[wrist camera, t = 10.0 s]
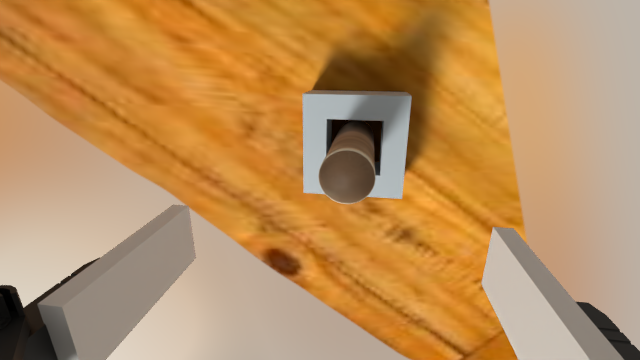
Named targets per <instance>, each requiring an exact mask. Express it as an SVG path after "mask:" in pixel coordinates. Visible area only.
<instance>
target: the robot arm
mask: <svg viewBox="0 0 640 360" xmlns="http://www.w3.org/2000/svg"><path fill="white" fill-rule="evenodd" d="M195 258H196V255H195V249H194V242H193V234H192V228H191V221H190V213H189V206H182V205H172V206H171V207H169V208H168V209H167V210H165V211H164V212H162V213H161V214H160V215H158V216H157V217H156V218H154V219H153V220H152V221H150V222H149V223H147V224H146V225H145V226H143V227H142V228H141V229H139V230H138V231H136V232H135V233H134V234H132V235H131V236H130V237H128V238H127V239H126V240H124V241H123V242H121V243H120V244H119V245H117V246H116V247H115V248H113V249H112V250H110V251H109V252H108V253H107V254H105V255H104V256H102V257H101V258H98V259H96V260H93V261H91V262H89V263H87V264H85V265H83V266H82V267H80V268H79V269H77V270H76V271H75V272H73V273H72V274H71V276H68V277H66V278H65V279H63V280H62V281H61V283H60V284H59V283H58V284H56V285H55V286H54V287H52V288H51V289H49V290H48V291H47V292H45V293H44V294H42V295H41V296H40V297H38V298H37V299H35V300H34V301H33V302H31V303H30V304H28V305H27V306H26V307H24V308H23V306H22V303H21V300H20V298H19V295H18V292H17V289H16V288H15V287H13V286H10V285H1V286H0V360H106V359H107V358H108V357H109V355H110V354H111V353H112V352H113V351H114V350H115V349H116V347H117V346H118V345H119V344H120V343H121V342H122V341H123V340H124V338H125V337H126V336H127V335H128V334H129V333H130V332H131V331H132V329H133V328H134V327H135V326H136V325H137V324H138V323H139V322H140V320H141V319H142V318H143V317H144V316H145V314H147V313H148V311H149V310H150V309H151V308H152V307H153V306H154V305H155V303H156V302H157V301H158V300H159V299H160V298H161V297H162V296H163V294H164V293H165V292H166V291H167V290H168V289H169V288H170V286H171V285H172V284H173V283H174V282H175V281H176V280H177V279H178V277H179V276H180V275H181V274H182V273H183V272H184V271H185V270H186V268H187V267H188V266H189V265H190V264H191V263H192V262H193V261H194V259H195ZM482 286H483V288H484V290H485V292H486V294H487V296H488V298H489V300H490V302H491V304H492V306H493V309H494V311H495V313H496V315H497V317H498V319H499V321H500V323H501V325H502V327H503V329H504V331H505V333H506V335H507V337H508V339H509V341H510V343H511V345H512V347H513V349H514V351H515V353H516V355H517V357H518V359H519V360H640V351H639V350H638V349H637V348H636V347H635V346H634V345H631V343H630V341H629V339H628V338H627V337H626V336H625V335H624V334H623V333H621V332H620V330H619V329H618V327H617V326H616V325H615V324H614V323H613V322H612V321H611V320H610V319H609V318H608V317H607V316H606V315H605V314H604V313H602V312H601V311H599V310H598V309H596V308H595V307H593V306H592V305H591V304H589V303H584V302H575V301H574V300H573V299H572V297H571V296H570V295H569V294H568V293H567V291H566V290H565V289H564V288H563V287H562V285H561V284H560V283H559V282H558V281H557V279H556V278H555V277H554V276H553V275H552V274H551V272H550V271H549V270H548V269H547V268H546V267H545V265H544V264H543V263H542V262H541V261H540V259H539V258H538V257H537V256H536V255H535V253H534V252H533V251H532V250H531V249H530V247H529V246H528V245H527V244H526V243H525V242H524V240H523V239H522V238H521V237H520V236H519V234H518V233H517V232H516V231H515V230H514V229H513V228H499V227H493V231H492V235H491V240H490V245H489V250H488V255H487V260H486V264H485V269H484V274H483V279H482Z"/></svg>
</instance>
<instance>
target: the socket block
mask: <svg viewBox="0 0 640 360" xmlns="http://www.w3.org/2000/svg"><path fill="white" fill-rule="evenodd" d="M411 99H412V96H411V95H410V94H409V93H407V92H390V91H337V90H311V91H308V92H306V93H304V94H303V173H304V193H316V194H325V193H324V192H323V190H322V188H321V186H320V184H319V178H318V175H319V169H320V166H321V164H322V162H323V160H324V158H325V157H326V156H327V154H328V152H329V150H330V148H331V146H332V119H339V120H371V121H382V127H381V141H380V156H379V162H374V164H375V176H376V179H375V185H374V187H373V190H372V191H371V193H370V194H369V195H368V196H367V197H381V198H397V199H402V192H403V182H404V172H405V161H406V151H407V141H408V130H409V120H410V109H411Z"/></svg>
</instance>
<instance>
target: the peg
mask: <svg viewBox="0 0 640 360" xmlns="http://www.w3.org/2000/svg"><path fill="white" fill-rule="evenodd" d="M318 178H319V184H320V186H321V188H322V190H323V192H324V193H325V194H326V195H327V196H328V197H329V198H330V199H332V200H334V201H336V202H338V203H343V204H352V203H357V202H359V201H361V200H363V199H365V198H366V197H367V196H368V195H369V194H370V193H371V191H372V190H373V187H374V185H375V179H376V176H375V164H374V134H373V130H372V128H371V127H370V125H369V124H367V123H366V122H364V121H362V120H349V121H347V122H346V123H344V124H343V125H342V126H341V128H340V130H339V132H338V134H337V136H336V138H335V140H334V142H333V144H332V146H331V148H330V150H329V152H328V154H327V156H326V157H325V158H324V160H323V162H322V164H321V166H320V169H319V175H318Z"/></svg>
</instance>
